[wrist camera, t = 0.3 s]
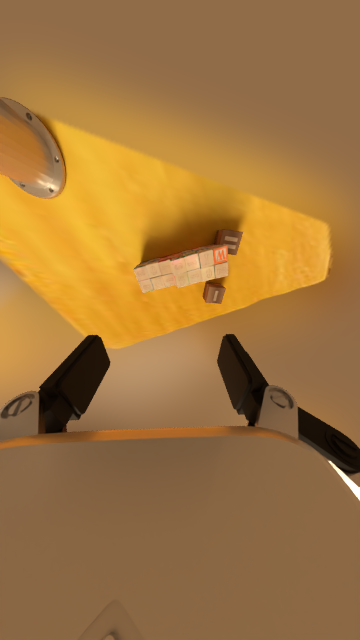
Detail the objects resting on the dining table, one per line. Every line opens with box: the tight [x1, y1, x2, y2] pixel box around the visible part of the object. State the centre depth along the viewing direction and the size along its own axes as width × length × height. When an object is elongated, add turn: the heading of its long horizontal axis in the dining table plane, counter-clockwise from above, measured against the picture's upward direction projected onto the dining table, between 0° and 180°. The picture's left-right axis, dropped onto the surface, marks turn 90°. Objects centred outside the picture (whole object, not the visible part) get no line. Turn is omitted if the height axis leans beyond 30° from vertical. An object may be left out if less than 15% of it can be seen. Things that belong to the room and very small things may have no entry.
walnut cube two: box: [214, 229, 243, 255], centre depth 34 cm, size 5×5×5 cm
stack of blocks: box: [133, 245, 228, 293], centre depth 33 cm, size 21×6×12 cm, turn 103°
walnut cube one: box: [203, 282, 226, 304], centre depth 41 cm, size 5×5×5 cm
